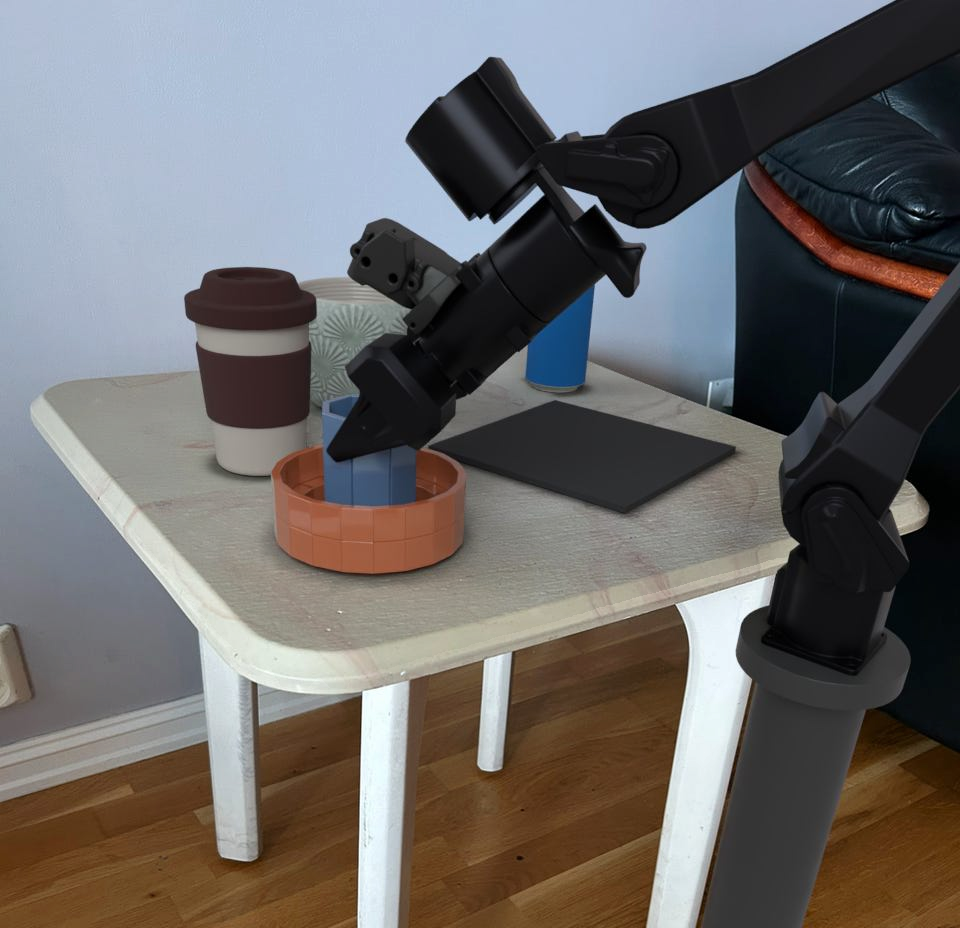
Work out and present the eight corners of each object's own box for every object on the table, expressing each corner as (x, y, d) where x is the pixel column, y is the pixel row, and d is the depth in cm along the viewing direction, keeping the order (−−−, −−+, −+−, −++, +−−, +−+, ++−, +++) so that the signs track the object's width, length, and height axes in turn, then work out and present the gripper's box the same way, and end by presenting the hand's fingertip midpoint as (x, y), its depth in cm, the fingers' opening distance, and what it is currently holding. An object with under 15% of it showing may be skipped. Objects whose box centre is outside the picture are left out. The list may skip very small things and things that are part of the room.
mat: (735, 452, 90) (736, 446, 90) (625, 513, 76) (626, 506, 76) (554, 405, 100) (554, 399, 100) (428, 451, 86) (428, 445, 86)
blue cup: (432, 531, 70) (435, 408, 66) (372, 559, 66) (371, 428, 61) (368, 508, 73) (367, 388, 69) (307, 533, 69) (302, 406, 65)
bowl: (500, 537, 71) (504, 472, 69) (375, 600, 62) (375, 526, 59) (366, 490, 78) (365, 428, 75) (236, 540, 69) (230, 471, 66)
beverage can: (585, 380, 109) (597, 266, 103) (583, 396, 104) (595, 277, 98) (527, 375, 110) (535, 262, 104) (522, 391, 104) (530, 272, 98)
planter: (441, 416, 95) (444, 299, 90) (318, 428, 90) (313, 305, 85) (395, 382, 105) (395, 274, 100) (281, 391, 100) (275, 278, 95)
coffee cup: (340, 474, 81) (335, 282, 73) (221, 491, 76) (203, 289, 69) (297, 437, 88) (288, 260, 80) (186, 451, 84) (166, 265, 76)
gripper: (470, 163, 65) (319, 317, 73) (380, 187, 49) (199, 381, 57) (576, 297, 68) (419, 433, 75) (523, 361, 52) (331, 526, 59)
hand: (350, 439), depth 67 cm, fingers closed on blue cup, 6 cm apart
